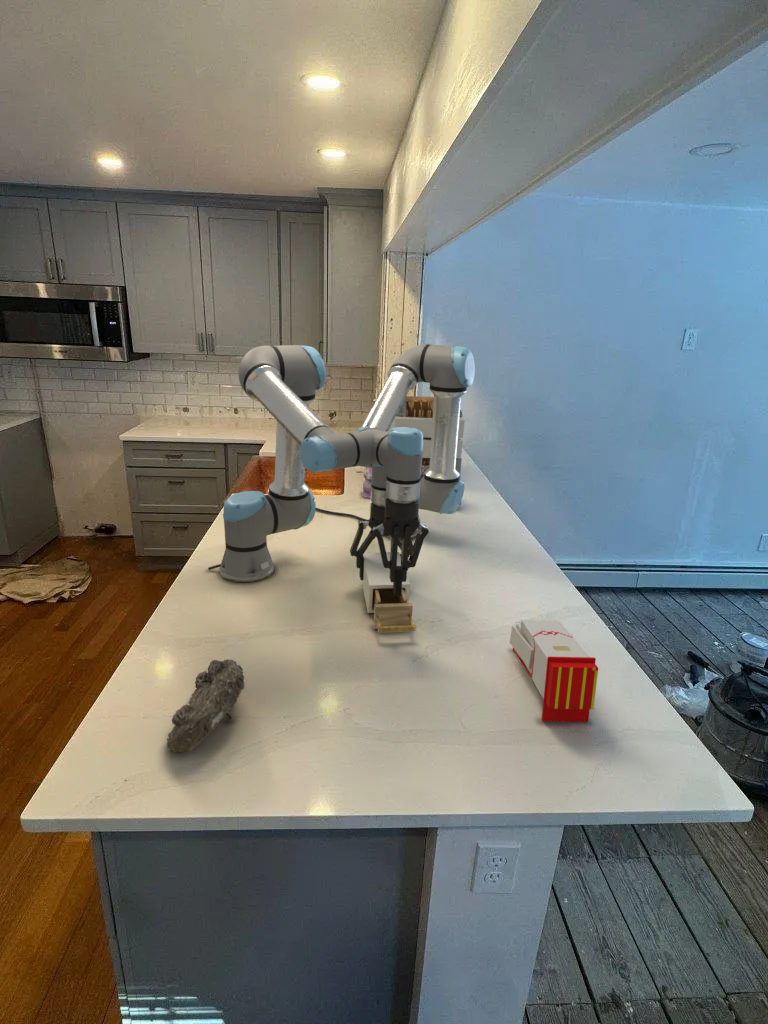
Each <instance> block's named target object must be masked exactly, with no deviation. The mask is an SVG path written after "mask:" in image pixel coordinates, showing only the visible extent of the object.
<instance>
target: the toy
mask: <svg viewBox="0 0 768 1024" xmlns="http://www.w3.org/2000/svg"><path fill="white" fill-rule="evenodd" d="M510 630H511V631H510V638H509V644H510V646H511V647H512V651H513V653H514V654H515V656H516V657H517V659H518V660H519V662H520V663H521V665H522V667H523V668H524V669H525V671H526V672H527V674H528V675H529V676H530V678H531V680H532V681H533V683H534V685H535V687H536V688H537V690H538V692H539V694H540V696H541V698H542V699H543V701H542V709H541V719H540V720H541V722H564V723H566V722H567V723H568V722H570V723H572V722H573V723H576V722H577V723H589V720H590V719H589V718H590V711H591V710H594V708H595V699H596V692H597V683H598V681H597V680H598V675H599V674H598V673H599V667H598V666H597V664H596V662H597V661H596V660H597V657H595V656H594V657H593V656H589V655H588V653H586V651H585V650H584V649H583V648H582V646H581V645H580V644H579V643H578V641H577V640H575V638H574V636H572V634H571V633H570V632H569V630H568V629H566V627H565V626H564V625H563V624H562V623H561V621H560V620H553V619H551V620H550V619H549V620H548V619H547V620H546V619H521V620H520V621H519V622H515V625H511V629H510Z"/></svg>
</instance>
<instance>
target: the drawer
mask: <svg viewBox="0 0 768 1024" xmlns="http://www.w3.org/2000/svg"><path fill="white" fill-rule="evenodd" d="M372 602H373V607H374V613H373V624H372V625H373V629H374V630H377V633H379V634H381V633H403V632H404V633H405V632H416V631H417V626H416V624H414V620H413V609H414V604H413V602H408V603H407V599H406V595H405V592H404V589H403V588H402V590H401V596H395V595H394V592H393V588H379V589H373V599H372Z"/></svg>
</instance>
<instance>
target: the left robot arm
mask: <svg viewBox="0 0 768 1024" xmlns="http://www.w3.org/2000/svg"><path fill="white" fill-rule="evenodd" d="M325 365H326V364H325V362H324V359H323V358H322V355H321V354H320V352H319V351H318V350H317V349H316V348H315V347H313V346H310V345H302V344H289V345H285V344H283V345H260V346H256V347H253V348H252V349H251V350H248V351H247V353H245V354H244V356H243V357H242V358H241V361H240V363H239V366H238V373H237V374H238V375H237V376H238V381H239V385H240V386H241V388H242V389H243V391H244V392H245V394H246V395H247V396H248V397H249V398H250V399H251V400H253V401H254V402H259V403H260V404H261V405H262V406H263V407H264V408H265V409H266V411H268V413H269V414H270V415H271V416H272V417H273V418H274V419H275V421H276V435H275V459H274V480H273V481H272V482H271V483H269V485H268V494H264V492H262V491H260V490H250V491H249V490H244V491H240V492H236V493H234V494H232V495H230V496H228V497H227V498H226V499H225V501H224V502H223V512H222V517H223V525H224V527H223V528H224V541H225V543H224V544H225V549H224V553H223V555H222V559H221V562H220V563H219V564H215V565H212V566H209V567H207V569H208V571H211V570H214V569H218V568H219V570H220V576H221V577H222V578H224V579H225V580H227V581H229V582H234V583H253V582H254V583H255V582H259V581H262V580H265V579H267V578H269V577H270V576H271V575H272V574H273V573H274V570H275V568H274V566H275V565H274V561H273V559H272V558H273V557H272V556H271V553H270V551H269V548H268V544H267V542H268V541H267V536H269V535H274V534H278V533H282V532H283V533H284V532H287V531H292V530H298V529H301V528H304V527H306V526H309V525H310V523H312V521H314V518H315V516H316V511H317V510H316V508H317V506H316V505H317V504H316V501H315V495H314V494H313V492H312V491H311V490H310V487H309V485H308V484H307V483H306V482H305V476H306V470H307V471H308V472H310V473H320V472H321V473H327V472H330V471H336V470H337V471H338V470H342V469H348V468H354V467H362V466H361V465H367V464H378V465H381V466H383V467H386V468H387V476H386V479H387V480H386V497H387V498H386V500H385V516H384V519H383V520H382V524H380V525H379V526H374V527H373V528H372V529H373V532H374V535H375V536H376V540H377V544H378V548H379V552H380V554H381V558H382V563H383V566H384V568H389V569H390V576H389V578H390V581H391V582H393V592H394V595H395V596H401V590H402V582H406V579H407V577H408V571H409V569H410V568H415V567H416V565H417V562H418V558H419V556H420V553H421V549H422V547H423V544H424V540H425V538H427V536H428V534H429V533H430V530H429V528H428V526H427V525H425V524H422V523H421V524H420V522H421V520H420V521H419V519H418V514H420V513H419V512H420V511H419V510H420V509H419V500H418V498H419V497H420V481H421V474H422V473H421V472H422V468H423V466H422V455H423V450H424V449H423V434H422V432H421V431H420V430H418V429H415V428H409V427H395V428H392V429H391V430H390V431H389V433H388V432H384V431H381V430H379V429H376V428H373V427H372V428H370V427H362V426H361V427H359V428H358V429H356V430H355V431H353V432H343V433H335V431H334V430H332V429H331V428H330V427H329V426H328V425H327V424H326V423H325V422H324V421H323V420H322V419H321V418H320V417H319V416H318V414H317V413H315V412H314V411H313V410H312V409H311V408H310V404H311V403H312V402H313V401H314V400H316V393H317V391H319V390H321V389H322V388H323V387H324V385H325V384H326V379H327V372H326V371H327V370H326V366H325ZM384 528H385V529H386V531H387V532H388V534H389V535H390V536H391V539H390V549H389V550H390V551H389V552H390V561H388V559H387V554H386V552H387V550H386V544H385V541H384V536H382V535H383V534H384V531H383V530H384ZM417 528H418V529H417ZM416 529H417V532H418V533H417V535H416V538H415V539H414V542H413V548H412V551H411V554H410V555H409V558H408V554H409V543H410V537H411V536H412V534H413V533H414V532H415V531H416ZM399 538H402V540H401V542H402V549H401V550H400V551H401V552H400V554H401V566H397V552H399V551H398V549H399V546H398V542H399Z"/></svg>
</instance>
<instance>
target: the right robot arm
mask: <svg viewBox="0 0 768 1024" xmlns="http://www.w3.org/2000/svg"><path fill="white" fill-rule="evenodd" d="M475 365H476V364H475V358H474V355H473V352H472V351H471V350H470V349H469V348H468V347H466V346H459V345H446V344H445V345H444V344H443V345H442V344H430V343H421V344H420V343H419V344H416V345H414V346H412V347H410V348H409V349H407V350H406V351H404V352H402V354H400V355H399V356H398V357H397V358H396V359H395V360H394V362H393V363H391V366H390V368H389V369H388V370H387V371H388V372H387V380H386V382H385V384H384V385H383V387H382V389H381V391H380V392H379V394H378V396H377V398H376V400H375V402H374V404H373V405H372V406H371V409H370V411H369V412H368V414H367V415H366V418H365V419H364V422H363V423H362V425H361V427H370V428H372V427H373V428H376V429H379V430H381V431H384V432H388V430H389V428H390V426H391V424H392V423H393V421H394V419H395V417H396V415H397V413H398V411H399V409H400V407H401V406H402V404H403V402H404V400H405V398H406V396H408V395H409V392H410V391H411V390H413V389H415V388H416V386H417V384H418V383H426V384H427V383H428V384H429V391H430V392H431V393H432V395H433V397H434V403H433V419H432V434H431V450H430V465H428V468H427V469H426V470H424V474H422V471H421V481H420V497H419V498H418V500H419V510H423V511H428V512H434V513H437V514H440V515H442V514H444V515H453V514H454V513H456V512H457V510H458V509H459V508H460V506H461V505H460V503H461V504H462V500H463V497H464V493H465V489H466V487H465V482H464V481H462V480H460V481H459V473H458V472H457V471H456V469H455V467H456V454H457V442H458V430H459V418H460V408H461V404H462V397H463V396H464V395H465V394H466V393H467V391H468V388H470V387H471V386H472V385H473V383H474V378H475V374H476V366H475ZM360 467H362V468H366V467H368V468H372V484H371V498H370V501H371V502H370V507H369V508H370V509H369V510H370V511H369V513H370V514H369V519H367V518H364V517H360V516H358V515H355V514H353V513H351V514H350V513H345V512H336V511H332V510H331V511H330V510H326V509H322V508H319V507H316V510H315V511H317V512H320V513H325V514H330V515H334V516H335V515H336V516H342V517H348V518H354V519H357V520H358V521H357V530H356V533H355V536H354V538H353V540H352V543H351V546H350V549H349V553H350V556H351V557H355V566H356V568H357V569H359V579H360V581H361V580H363V575H364V557H363V554H364V553H366V551H367V550H368V548H369V547H370V545H372V542H373V541H374V540H375V539H377V537H376V536H375V535H374V532H373V529H372V528H373V527H374V526H379V525H380V524H382V520H383V519H384V516H385V500H386V498H387V497H386V480H387V479H386V476H387V468H386V467H383V466H381V465H378V464H367V465H361V466H360ZM459 505H460V506H459ZM419 514H420V513H418V519H419V521H420V524H422V523H421V518H420V515H419ZM367 527H369V528H370V530H369V532H368V535H366V537H365V539H364V540H363V542H362V543H361V545H360V542H361V539H362V537H363V534H364V531H365V530H366V529H367ZM417 529H418V528H417ZM417 529H416V531H415V532H414V533H413V534H412V536H411V537H410V543H409V554H408V559H409V557H410V554H411V551H412V548H413V545H414V542H413V540H415V538H416V535H417V533H418V532H417ZM383 531H384V534H383V535H382V537H383V538H384V537H385V538H387V539H389V540H391V536H390V535H389V534H388V532H387V531H386V529H385V528H384V530H383ZM359 545H360V546H359ZM398 549H399V550H400V551H401V549H402V538H399V542H398ZM400 556H401V553H400Z"/></svg>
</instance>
